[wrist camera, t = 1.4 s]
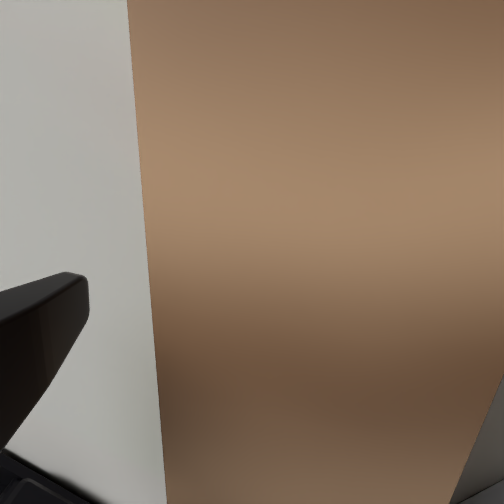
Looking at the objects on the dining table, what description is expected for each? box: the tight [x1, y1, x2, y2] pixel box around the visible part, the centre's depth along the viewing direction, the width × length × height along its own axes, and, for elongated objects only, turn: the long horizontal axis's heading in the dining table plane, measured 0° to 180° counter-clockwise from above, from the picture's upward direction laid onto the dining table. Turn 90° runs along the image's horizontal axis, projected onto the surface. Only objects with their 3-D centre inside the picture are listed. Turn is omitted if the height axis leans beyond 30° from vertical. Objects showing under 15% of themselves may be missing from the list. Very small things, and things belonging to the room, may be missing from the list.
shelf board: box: [127, 0, 504, 504], centre depth 9 cm, size 14×6×4 cm, turn 177°
